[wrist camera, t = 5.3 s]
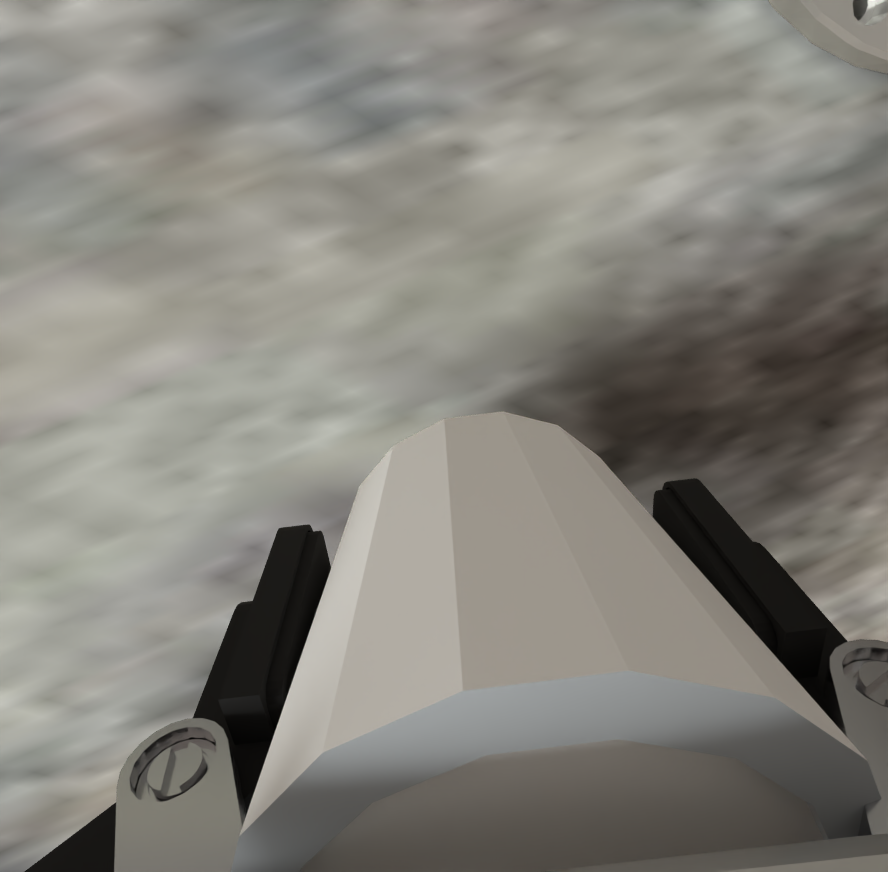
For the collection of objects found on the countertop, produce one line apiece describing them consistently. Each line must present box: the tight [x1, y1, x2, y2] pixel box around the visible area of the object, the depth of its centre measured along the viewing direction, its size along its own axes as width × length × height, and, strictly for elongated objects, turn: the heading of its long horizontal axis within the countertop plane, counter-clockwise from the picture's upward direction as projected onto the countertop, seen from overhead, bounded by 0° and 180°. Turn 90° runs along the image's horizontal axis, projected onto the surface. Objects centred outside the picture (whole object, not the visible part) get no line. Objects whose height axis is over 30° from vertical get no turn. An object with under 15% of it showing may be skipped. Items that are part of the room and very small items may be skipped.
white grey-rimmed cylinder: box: [231, 411, 881, 872], centre depth 9 cm, size 7×7×7 cm
